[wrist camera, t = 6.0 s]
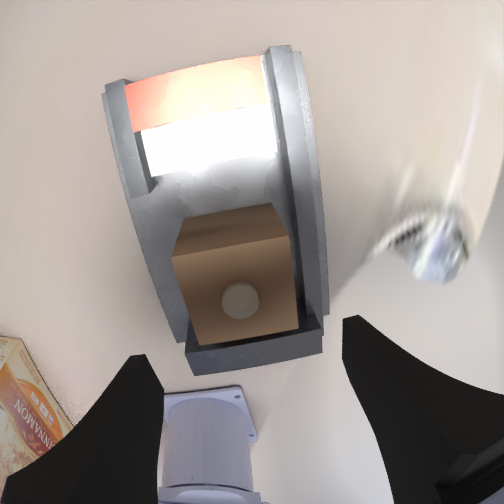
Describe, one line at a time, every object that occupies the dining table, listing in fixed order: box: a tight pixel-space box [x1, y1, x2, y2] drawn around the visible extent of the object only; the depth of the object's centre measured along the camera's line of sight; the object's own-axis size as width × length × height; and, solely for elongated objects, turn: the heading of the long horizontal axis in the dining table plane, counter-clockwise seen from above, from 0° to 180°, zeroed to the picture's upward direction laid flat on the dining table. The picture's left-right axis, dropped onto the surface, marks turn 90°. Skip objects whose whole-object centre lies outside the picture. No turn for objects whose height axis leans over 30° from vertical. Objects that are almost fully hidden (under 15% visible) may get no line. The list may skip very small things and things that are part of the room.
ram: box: [124, 55, 277, 177], centre depth 12 cm, size 4×6×6 cm
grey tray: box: [102, 45, 330, 376], centre depth 16 cm, size 17×11×4 cm, turn 10°
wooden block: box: [171, 202, 299, 345], centre depth 16 cm, size 5×5×6 cm
